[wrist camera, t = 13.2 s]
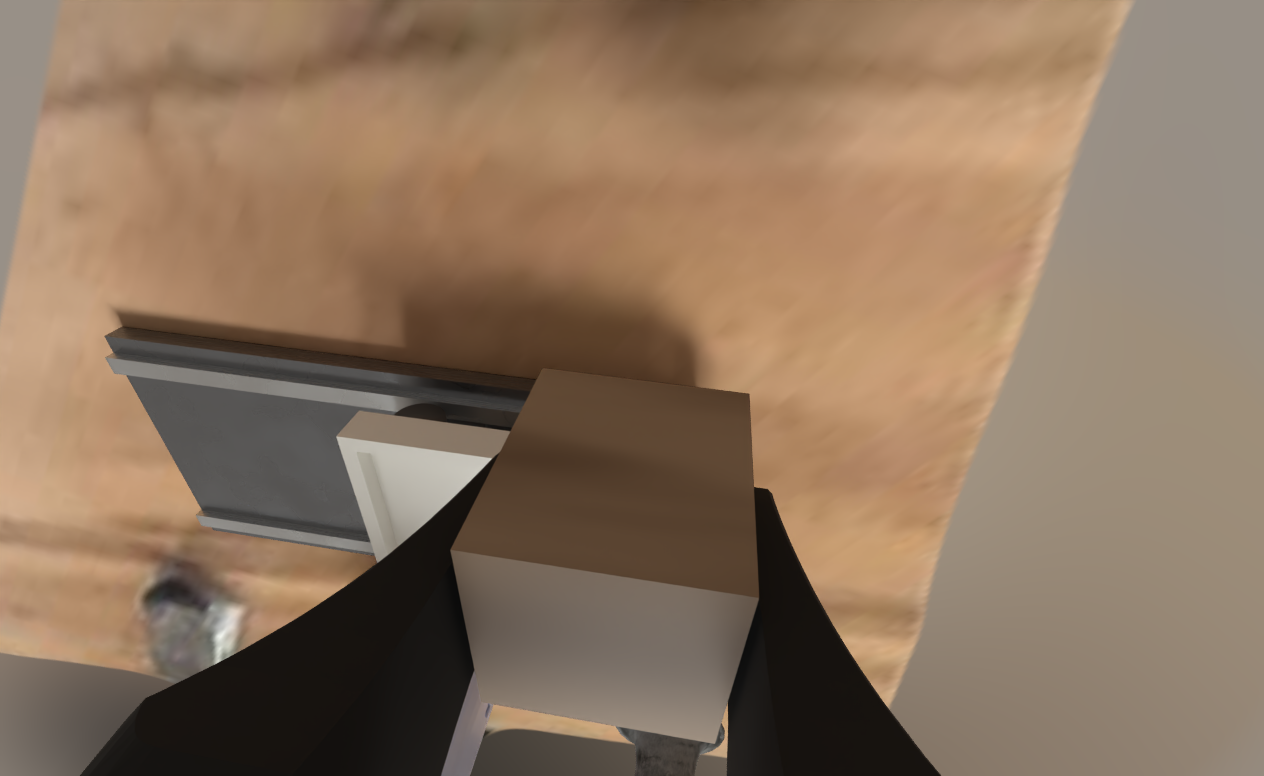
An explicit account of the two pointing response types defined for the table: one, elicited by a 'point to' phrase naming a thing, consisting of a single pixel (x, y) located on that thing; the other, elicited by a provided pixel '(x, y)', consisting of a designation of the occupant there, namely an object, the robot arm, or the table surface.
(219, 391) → the dark grey tray
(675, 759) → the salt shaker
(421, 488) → the white recessed tray
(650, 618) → the plain brown block
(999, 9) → the table surface
